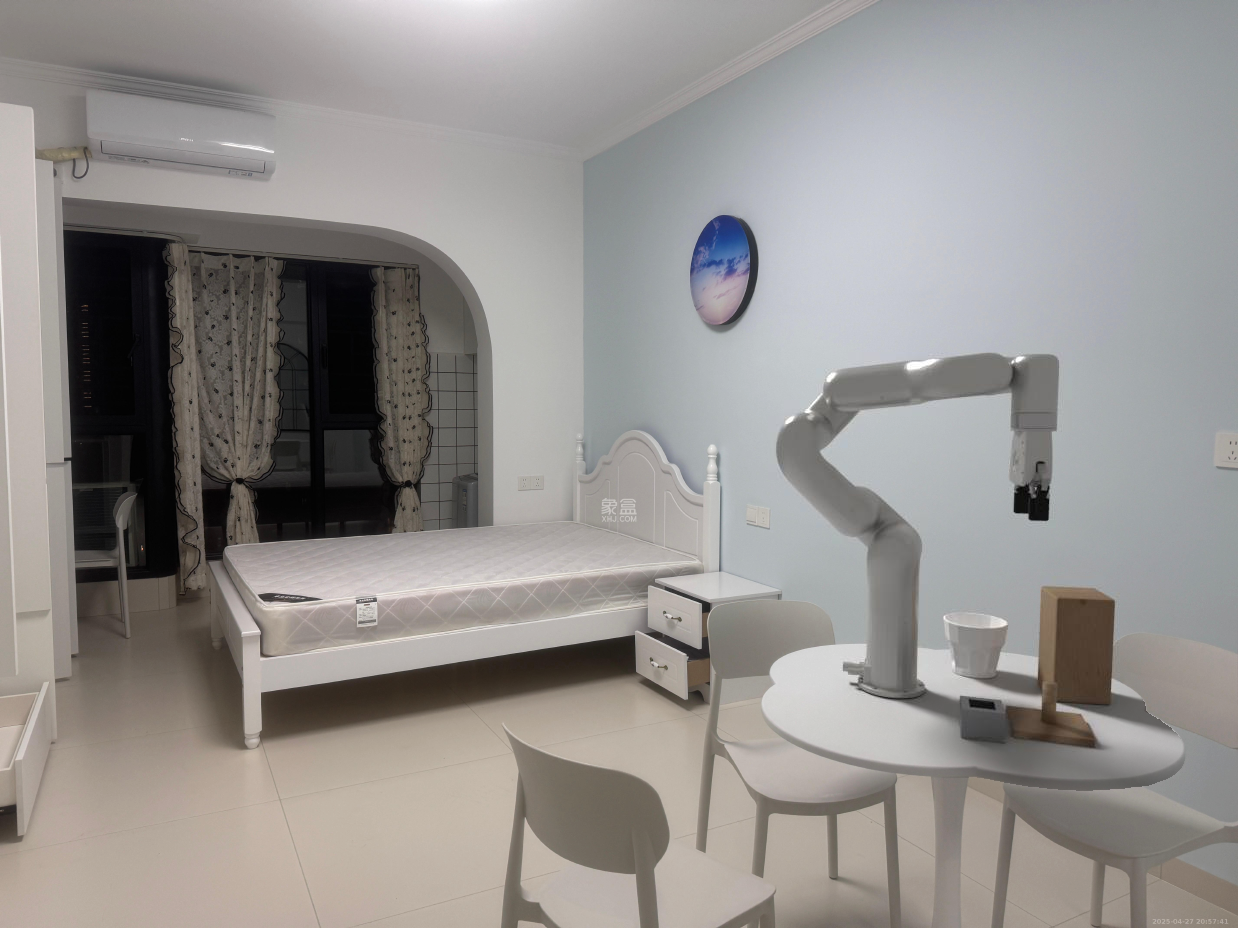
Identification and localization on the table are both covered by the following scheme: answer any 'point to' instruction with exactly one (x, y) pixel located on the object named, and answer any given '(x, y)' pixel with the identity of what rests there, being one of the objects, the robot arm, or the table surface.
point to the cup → (975, 643)
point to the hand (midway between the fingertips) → (1030, 516)
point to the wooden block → (1076, 643)
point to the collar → (982, 719)
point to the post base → (1049, 732)
